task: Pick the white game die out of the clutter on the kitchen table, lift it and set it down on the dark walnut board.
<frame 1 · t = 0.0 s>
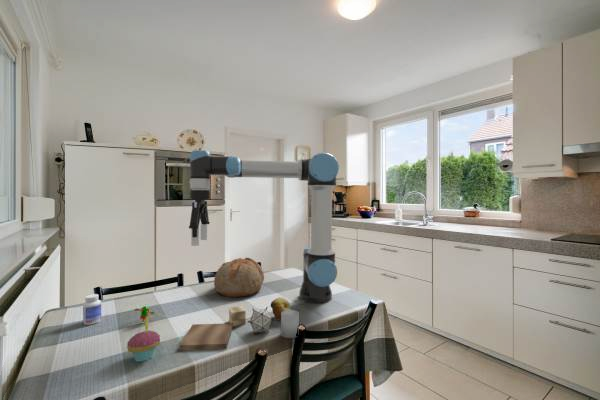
hand: (199, 242, 115), 28 cm above the table, fingers open, 13 cm apart
cupcake: (144, 357, 83), on the table
beech block: (237, 322, 107), on the table
fruit: (280, 319, 110), on the table
board: (208, 337, 95), on the table
toy character: (146, 324, 105), on the table
white rounded cylinder: (289, 333, 98), on the table
pill bottle: (92, 322, 106), on the table
bread: (240, 289, 144), on the table
game die: (260, 332, 99), on the table
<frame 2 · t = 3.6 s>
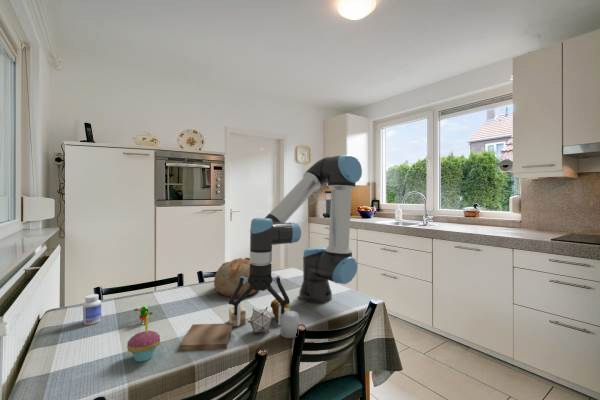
hand: (259, 324, 99), 3 cm above the table, fingers open, 13 cm apart
white rounded cylinder: (289, 334, 98), on the table, touching gripper
everything else where it was.
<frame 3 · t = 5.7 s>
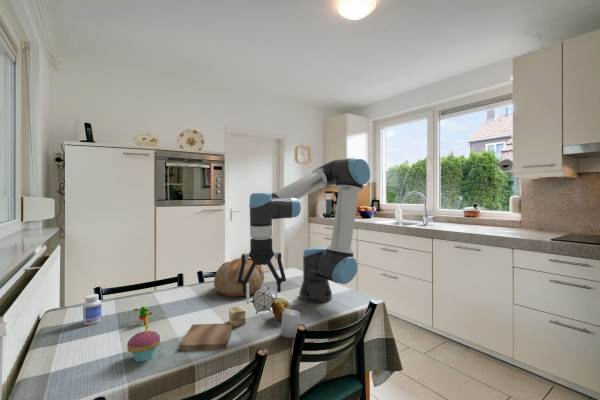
hand: (262, 301, 100), 10 cm above the table, fingers closed on game die, 9 cm apart
white rounded cylinder: (289, 333, 98), on the table
game die: (262, 312, 100), point 7 cm above the table, touching gripper
everything else where it was.
when the fingers open (3 cm above the table, at t = 9.9 s): game die stays where it is, resting on board.
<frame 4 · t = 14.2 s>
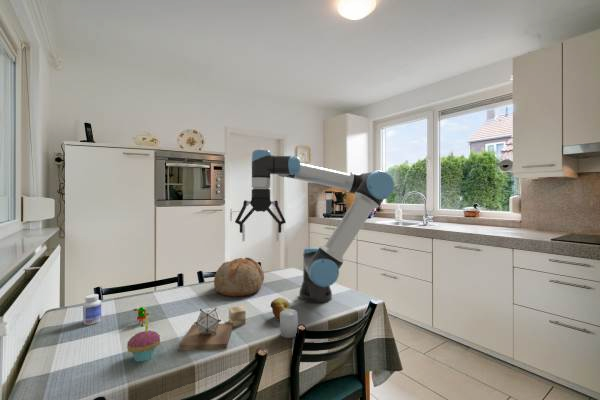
hand: (260, 240, 117), 29 cm above the table, fingers open, 13 cm apart
game die: (208, 334, 95), point 1 cm above the table, touching board
at the end: game die inside the target area on the board (0.1 cm from its centre), point 1.3 cm above the board's base; game die touching board; beech block moved 0.1 cm from its start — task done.
